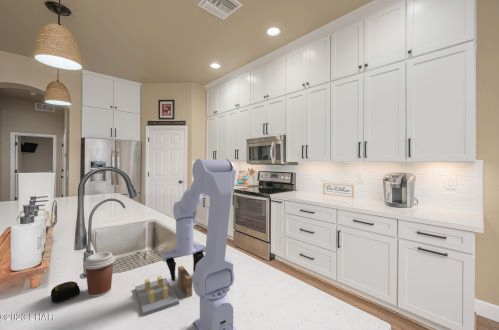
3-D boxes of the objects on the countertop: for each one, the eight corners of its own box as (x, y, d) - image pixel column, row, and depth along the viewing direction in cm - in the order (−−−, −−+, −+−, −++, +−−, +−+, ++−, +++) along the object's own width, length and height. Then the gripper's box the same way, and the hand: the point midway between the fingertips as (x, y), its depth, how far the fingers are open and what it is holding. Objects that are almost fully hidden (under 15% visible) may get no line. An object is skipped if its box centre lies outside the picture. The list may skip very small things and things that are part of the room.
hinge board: (179, 303, 70) (179, 290, 70) (143, 316, 64) (143, 301, 64) (165, 280, 83) (165, 269, 83) (135, 289, 78) (135, 277, 78)
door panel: (192, 296, 74) (192, 277, 74) (187, 297, 73) (187, 279, 73) (182, 282, 83) (182, 265, 82) (178, 283, 82) (178, 266, 82)
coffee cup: (118, 282, 82) (118, 249, 82) (112, 296, 73) (111, 259, 73) (89, 286, 79) (88, 252, 79) (78, 301, 71) (78, 263, 70)
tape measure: (52, 307, 68) (51, 295, 68) (50, 297, 73) (49, 285, 73) (80, 297, 73) (80, 286, 73) (76, 289, 78) (76, 278, 78)
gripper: (200, 230, 85) (200, 266, 85) (159, 237, 77) (159, 277, 77) (208, 235, 79) (208, 274, 79) (164, 244, 71) (164, 287, 71)
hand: (184, 276), depth 78 cm, fingers open, 7 cm apart
